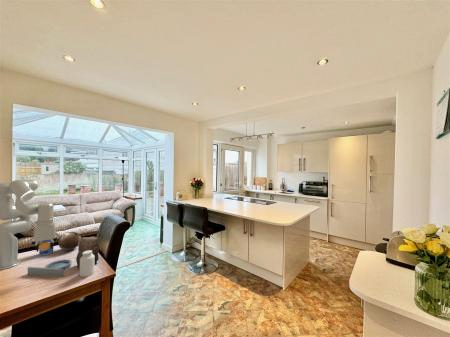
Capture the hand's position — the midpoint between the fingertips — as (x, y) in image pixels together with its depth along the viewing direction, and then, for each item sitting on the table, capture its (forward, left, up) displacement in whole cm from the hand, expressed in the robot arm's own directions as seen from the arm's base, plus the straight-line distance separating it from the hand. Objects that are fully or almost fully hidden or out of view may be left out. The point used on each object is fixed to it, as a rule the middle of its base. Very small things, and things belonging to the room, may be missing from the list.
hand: (44, 249), depth 122 cm
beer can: (-30, +29, -18) cm, 45 cm away
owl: (+17, +14, -18) cm, 28 cm away
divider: (0, +1, -17) cm, 17 cm away
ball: (0, 0, +2) cm, 2 cm away
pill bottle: (+26, +5, -18) cm, 32 cm away
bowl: (0, +10, -17) cm, 20 cm away
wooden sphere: (-18, +38, -18) cm, 45 cm away
